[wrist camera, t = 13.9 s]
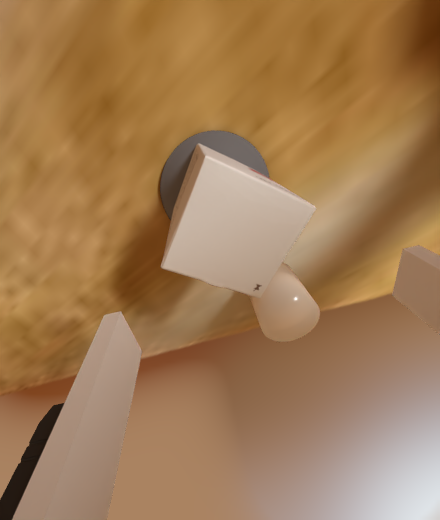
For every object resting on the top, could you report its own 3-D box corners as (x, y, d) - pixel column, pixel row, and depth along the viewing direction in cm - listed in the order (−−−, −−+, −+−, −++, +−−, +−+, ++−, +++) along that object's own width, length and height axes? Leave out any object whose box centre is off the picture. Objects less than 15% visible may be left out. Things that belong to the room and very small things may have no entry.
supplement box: (264, 173, 30) (323, 208, 17) (233, 234, 33) (262, 303, 20) (196, 139, 27) (204, 150, 14) (170, 210, 31) (158, 271, 18)
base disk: (222, 100, 26) (222, 100, 26) (288, 195, 32) (290, 196, 32) (136, 187, 30) (135, 189, 29) (211, 258, 36) (211, 260, 35)
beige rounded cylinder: (276, 251, 36) (300, 284, 29) (302, 281, 40) (330, 319, 32) (236, 282, 38) (248, 321, 30) (264, 308, 42) (282, 350, 34)
